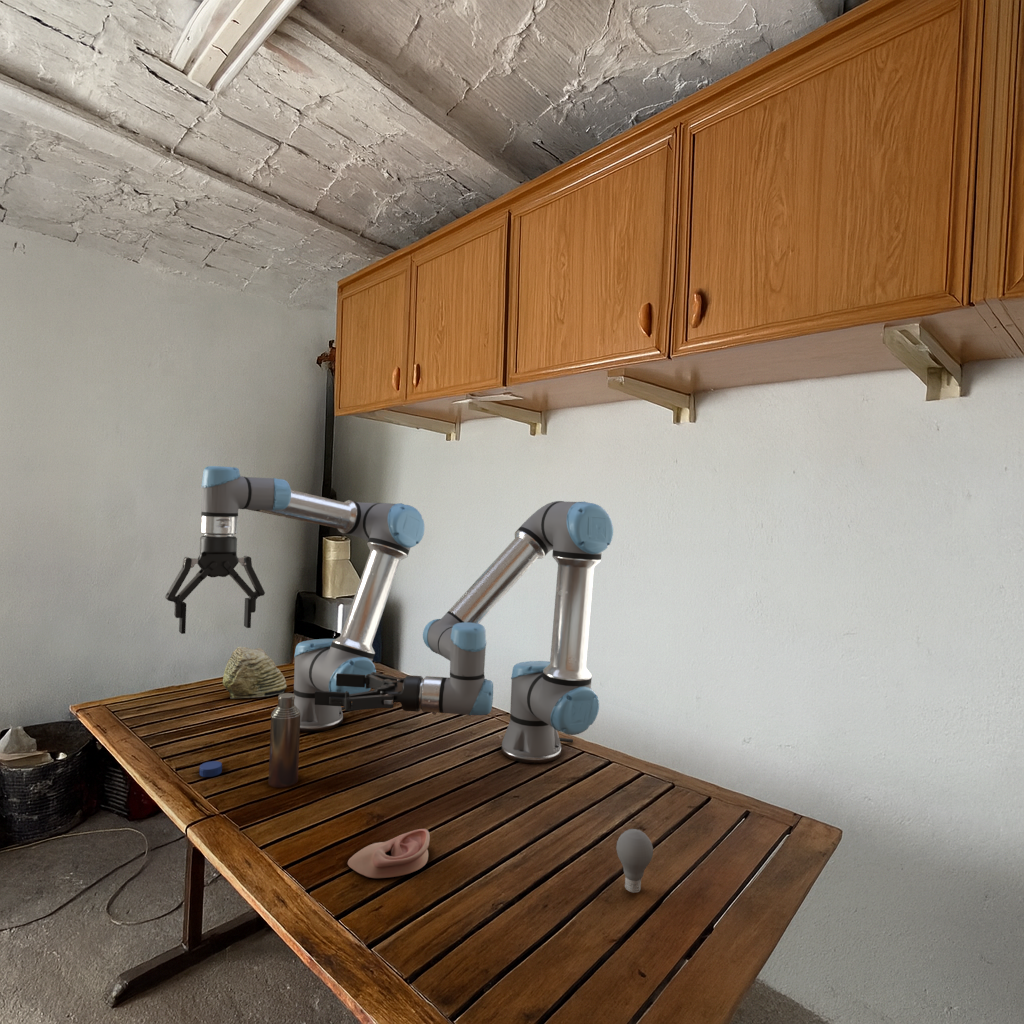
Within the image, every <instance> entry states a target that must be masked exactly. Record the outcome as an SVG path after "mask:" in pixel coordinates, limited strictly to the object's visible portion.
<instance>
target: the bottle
mask: <svg viewBox="0 0 1024 1024" xmlns="http://www.w3.org/2000/svg"><path fill="white" fill-rule="evenodd" d="M294 699H295V695H294V693H292V692H283V693H280V694H278V697H277V701H278V703H277V706H276V707H275V708H274V709H273V711H272V712H271V714H270V732H269V760H268V761H269V762H268V763H269V764H268V785H269V786H270V787H273V788H287V787H291V786H293V785H296V784H297V783H298V781H299V764H300V763H299V762H300V761H299V760H300V741H301V739H300V738H301V736H300V735H301V731H300V710H299V709H298V708H297V707H296V706H295V705H294Z"/></svg>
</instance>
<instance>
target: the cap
mask: <svg viewBox="0 0 1024 1024" xmlns="http://www.w3.org/2000/svg"><path fill="white" fill-rule="evenodd" d="M222 772H223V763H222V761H217V760H212V761H211V760H210V761H206V762H203V763H202V764H200V765H199V770H198V774H199V776H200V777H203V778H212V777H216V776H219V775H220V774H222Z"/></svg>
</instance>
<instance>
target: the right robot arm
mask: <svg viewBox="0 0 1024 1024" xmlns="http://www.w3.org/2000/svg"><path fill="white" fill-rule="evenodd" d="M613 537H614V525H613V521H612V518H611V516H610V514H609V513H608V512H607V511H606V509H605V508H604V507H602V506H601V505H599V504H596V503H593V502H588V501H564V500H555V501H552V502H549V503H546V504H545V505H542V506H541V507H539V508H538V509H537V510H536V511H535V512H533V513H532V514H531V516H529V517H528V518H527V519H526V520H525V521H524V522H523V523H522V524H521V525H520V526H519V528H518V529H516V531H515V532H514V539H513V540H512V541H511V542H510V543H509V544H508V546H507V547H505V549H504V550H503V551H502V552H501V553H500V554H499V555H498V556H497V557H496V558H495V560H494V561H492V563H491V564H490V565H489V566H488V567H487V569H485V570H484V571H483V573H482V574H481V575H480V576H479V577H478V578H477V579H476V580H475V581H474V583H473V584H472V585H471V586H470V587H469V588H468V589H467V590H466V591H465V592H464V593H463V594H462V595H461V597H460V598H459V599H457V601H456V602H455V603H454V604H453V605H452V606H451V608H450V609H449V610H448V611H447V612H446V613H445V614H444V615H443V616H442V617H441V618H434V619H432V620H430V621H429V622H428V623H427V624H426V625H425V627H424V628H423V631H422V640H423V643H424V645H425V646H426V647H427V648H429V649H430V651H431V652H433V653H435V654H437V655H439V656H441V657H443V658H444V659H446V660H448V661H449V677H446V676H445V677H444V676H431V675H426V676H425V677H423V676H422V675H412V674H411V675H410V674H409V675H405V677H397V676H393V675H389V674H384V673H380V672H377V671H376V672H372V673H371V674H367V675H366V676H365V675H359V674H342V673H337V674H336V686H348V687H365V684H366V688H367V689H368V688H371V689H373V690H369V691H367V692H360V693H354V694H349V692H348V691H346V692H328V691H315V705H328V706H341V707H345V710H344V711H345V712H354V711H363V710H374V709H393V708H394V704H395V703H400V704H401V709H402V711H404V712H415V713H418V712H419V711H422V712H423V713H431V714H432V715H434V716H435V715H437V713H439V714H451V715H463V716H487V715H489V714H490V713H491V712H492V709H493V701H494V682H493V680H492V679H487V678H485V677H486V675H485V666H486V651H487V637H486V636H487V635H486V630H487V629H486V627H485V625H483V624H482V623H481V622H482V621H483V620H484V618H485V617H487V615H488V614H489V613H490V612H491V611H492V610H493V609H494V608H495V607H496V605H498V603H499V602H500V601H501V600H502V599H503V598H504V597H505V595H506V594H507V593H508V592H509V591H510V590H511V589H512V588H513V586H514V585H515V584H516V583H517V582H518V581H519V580H520V578H522V576H523V575H524V574H525V573H526V572H527V571H528V570H529V569H530V567H531V566H532V565H533V564H534V563H535V562H536V561H537V560H540V559H541V560H542V559H544V558H545V557H546V556H547V554H549V552H551V551H552V555H551V556H552V559H553V560H554V561H555V562H556V563H557V573H556V575H557V576H556V586H555V596H554V597H555V598H554V609H553V621H552V633H551V646H550V657H549V658H550V659H549V661H548V660H547V661H546V660H529V661H521V662H518V663H516V664H514V665H513V667H512V671H511V677H510V679H511V684H510V685H511V687H510V710H509V711H510V713H509V722H508V725H507V728H506V730H505V733H504V736H503V738H502V742H501V753H502V754H503V756H505V757H507V758H508V759H510V760H513V761H515V762H519V763H525V764H546V763H551V762H553V761H556V760H558V759H559V758H560V757H561V755H562V743H561V742H563V743H571V744H573V743H574V739H573V738H568V737H567V738H566V737H560V736H559V732H560V733H563V734H565V735H568V736H576V735H580V734H582V733H583V732H585V731H587V730H588V729H589V728H590V726H591V725H593V724H594V723H595V721H596V720H597V717H598V714H599V710H600V700H599V697H598V695H597V694H596V692H595V691H594V690H593V689H592V688H591V687H592V672H590V670H588V668H587V659H588V648H589V634H590V623H591V609H592V599H593V586H594V574H595V567H596V566H597V565H598V564H599V563H601V561H602V554H603V552H604V551H606V550H607V549H608V546H610V545H611V543H612V541H613ZM480 623H481V624H480Z"/></svg>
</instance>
